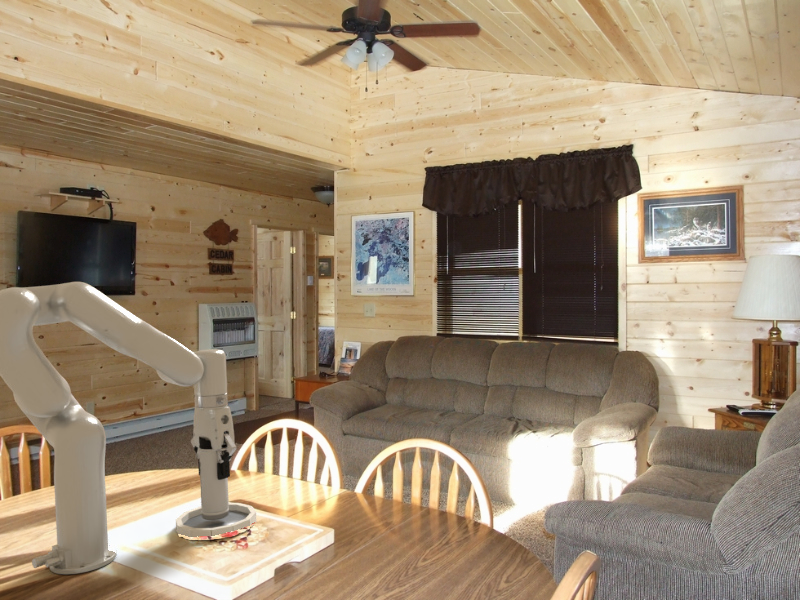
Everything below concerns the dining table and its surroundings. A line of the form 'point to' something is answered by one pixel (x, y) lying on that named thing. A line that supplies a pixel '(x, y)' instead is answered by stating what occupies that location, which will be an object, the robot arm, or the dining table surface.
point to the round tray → (215, 521)
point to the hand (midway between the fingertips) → (214, 475)
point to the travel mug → (212, 484)
